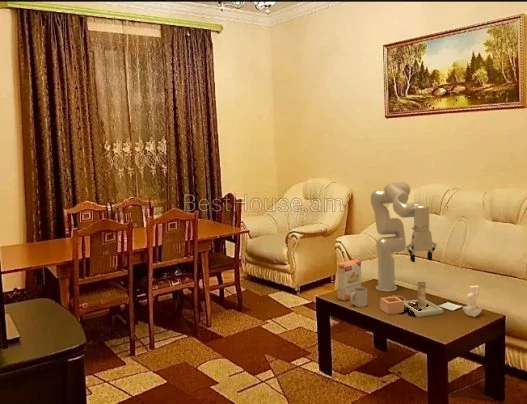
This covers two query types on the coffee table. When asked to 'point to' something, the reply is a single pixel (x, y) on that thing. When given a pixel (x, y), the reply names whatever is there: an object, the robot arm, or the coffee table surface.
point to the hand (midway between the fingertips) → (421, 260)
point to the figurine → (472, 302)
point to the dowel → (422, 295)
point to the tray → (429, 310)
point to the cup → (359, 297)
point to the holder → (391, 305)
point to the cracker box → (348, 278)
